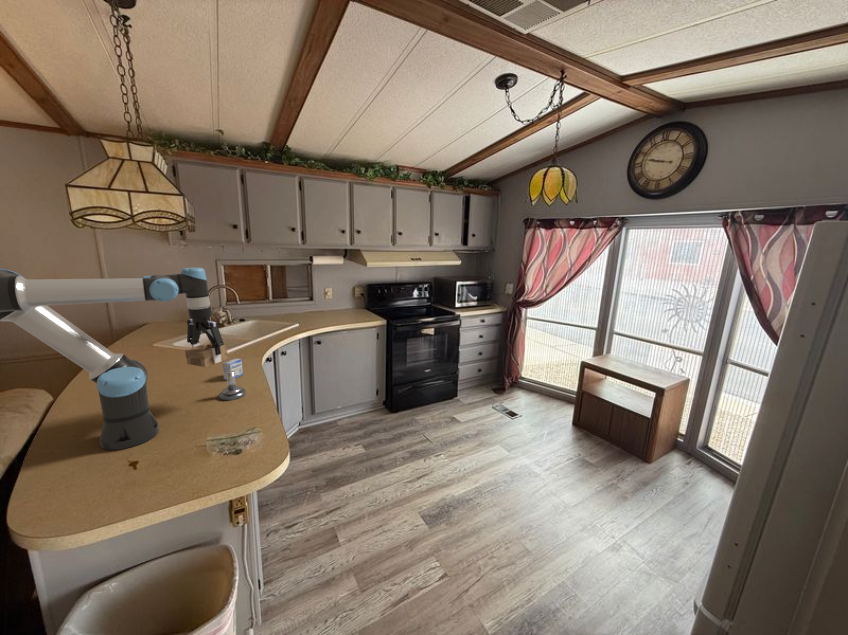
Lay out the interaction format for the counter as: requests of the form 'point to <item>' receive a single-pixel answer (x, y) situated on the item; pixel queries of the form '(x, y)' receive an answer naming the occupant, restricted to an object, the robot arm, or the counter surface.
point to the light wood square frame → (204, 355)
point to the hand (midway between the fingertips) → (208, 360)
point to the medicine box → (233, 367)
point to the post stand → (231, 389)
